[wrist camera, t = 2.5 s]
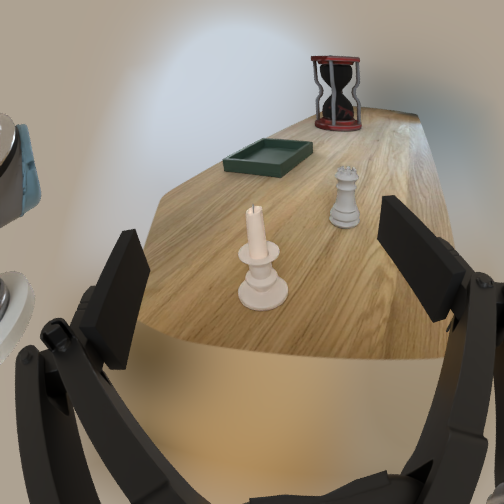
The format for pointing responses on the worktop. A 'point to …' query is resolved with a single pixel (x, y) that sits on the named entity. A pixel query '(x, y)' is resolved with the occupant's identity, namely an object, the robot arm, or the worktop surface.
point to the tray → (268, 157)
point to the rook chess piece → (345, 200)
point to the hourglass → (337, 93)
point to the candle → (260, 267)
